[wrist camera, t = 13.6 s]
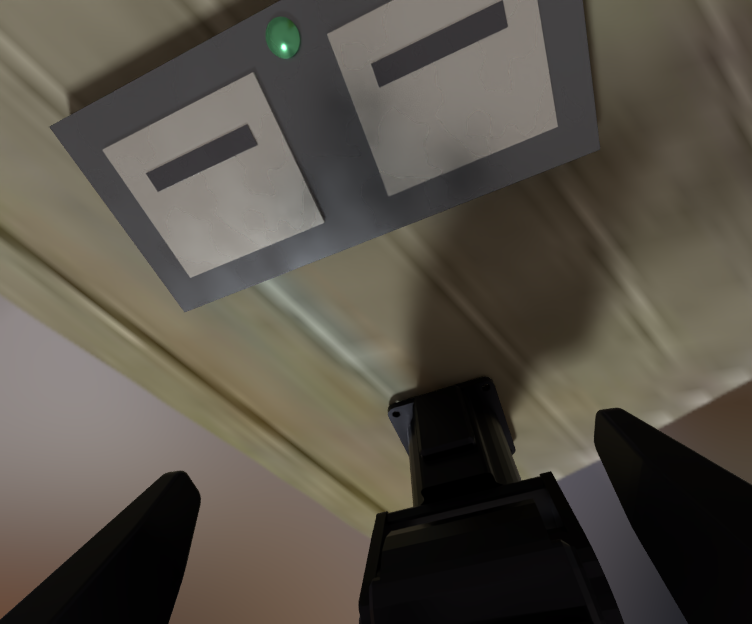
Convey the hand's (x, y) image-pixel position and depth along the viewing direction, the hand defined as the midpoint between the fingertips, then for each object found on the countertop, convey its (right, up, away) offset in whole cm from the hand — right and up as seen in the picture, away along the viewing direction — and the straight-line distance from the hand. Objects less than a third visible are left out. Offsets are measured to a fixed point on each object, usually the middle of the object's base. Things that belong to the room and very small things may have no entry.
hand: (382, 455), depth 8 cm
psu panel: (-2, +11, +8) cm, 13 cm away
